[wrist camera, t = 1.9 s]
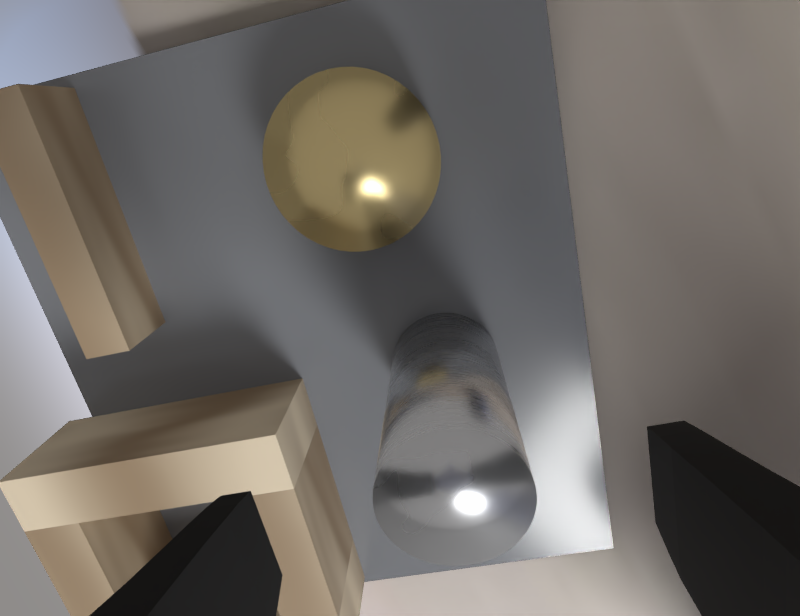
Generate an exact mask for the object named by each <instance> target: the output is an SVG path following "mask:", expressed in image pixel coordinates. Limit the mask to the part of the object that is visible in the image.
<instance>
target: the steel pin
mask: <svg viewBox="0 0 800 616" xmlns="http://www.w3.org/2000/svg"><path fill="white" fill-rule="evenodd" d="M372 497H373V508H374V513H375V516H376V519H377V521H378V523H379V525H380V527H381V529H382V530H383V532H384V533H385V534H386V536H387V537H388V538H389V539H390V540H391V541H392V542H393V543H394V544H395V545H396V546H398V547H399V548H400V549H401V550H403V551H404V552H406V553H408V554H409V555H411V556H413V557H415V558H418V559H420V560H423V561H426V562H429V563H433V564H438V565H446V566H465V565H472V564H478V563H481V562H485V561H488V560H490V559H493V558H495V557H498V556H499V555H501V554H503V553H505V552H506V551H508V550H509V549H510V548H512V547H513V546H514V545H515V544H516V543H517V542H518V541H519V540H521V538H522V537H523V536H524V535H525V533H526V532H527V530H528V529H529V527H530V525H531V523H532V521H533V518H534V515H535V511H536V506H537V493H536V487H535V483H534V479H533V476H532V472H531V469H530V465H529V461H528V458H527V454H526V451H525V447H524V444H523V440H522V437H521V433H520V430H519V426H518V423H517V419H516V416H515V412H514V408H513V405H512V401H511V398H510V394H509V391H508V387H507V384H506V380H505V377H504V373H503V370H502V366H501V362H500V359H499V355H498V352H497V348H496V345H495V343H494V340H493V339H492V337H491V335H490V334H489V333H488V332H487V330H486V329H485V328H484V327H483V326H482V325H480V324H479V323H478V322H476V321H475V320H473V319H471V318H469V317H466V316H464V315H460V314H456V313H436V314H432V315H428V316H425V317H423V318H421V319H419V320H417V321H415V322H414V323H412V324H411V325H410V326H409V327H408V328H407V329H406V330H405V331H404V332H403V333H402V335H401V336H400V338H399V339H398V341H397V344H396V346H395V350H394V354H393V361H392V367H391V374H390V380H389V387H388V394H387V400H386V407H385V414H384V420H383V427H382V434H381V440H380V447H379V454H378V460H377V467H376V474H375V480H374V487H373V496H372Z"/></svg>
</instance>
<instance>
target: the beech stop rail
mask: <svg viewBox="0 0 800 616" xmlns="http://www.w3.org/2000/svg"><path fill="white" fill-rule="evenodd" d="M0 168H1V170H2V172H3V174H4V177H5V179H6V181H7V183H8V185H9V188H10V190H11V192H12V194H13V197H14V199H15V201H16V203H17V205H18V208H19V210H20V212H21V214H22V217H23V219H24V221H25V223H26V226H27V228H28V230H29V232H30V234H31V237H32V239H33V241H34V243H35V246H36V248H37V250H38V252H39V255H40V257H41V259H42V261H43V263H44V266H45V268H46V270H47V272H48V275H49V277H50V279H51V281H52V283H53V286H54V288H55V290H56V292H57V295H58V297H59V299H60V301H61V304H62V306H63V308H64V310H65V312H66V315H67V317H68V319H69V321H70V324H71V326H72V328H73V330H74V333H75V335H76V337H77V339H78V341H79V344H80V346H81V348H82V350H83V353H84V355H85V357H86V359H90V358H95V357H100V356H105V355H110V354H115V353H120V352H125V351H130V350H131V349H132V348H134V347H135V346H136V345H137V344H139V343H140V342H141V341H142V340H144V339H145V338H146V337H147V336H149V335H150V334H151V333H152V332H154V331H155V330H156V329H158V328H159V327H160V326H161V325H163V324H164V323H165V320H164V317H163V315H162V312H161V309H160V307H159V304H158V302H157V299H156V297H155V294H154V291H153V289H152V286H151V284H150V281H149V279H148V276H147V273H146V271H145V268H144V266H143V263H142V261H141V258H140V255H139V253H138V250H137V248H136V245H135V243H134V240H133V237H132V235H131V232H130V230H129V227H128V225H127V222H126V219H125V217H124V214H123V212H122V209H121V207H120V204H119V201H118V199H117V196H116V194H115V191H114V188H113V186H112V183H111V181H110V178H109V176H108V173H107V170H106V168H105V165H104V163H103V160H102V158H101V155H100V152H99V150H98V147H97V145H96V142H95V140H94V137H93V134H92V132H91V129H90V127H89V124H88V122H87V119H86V116H85V114H84V111H83V109H82V106H81V104H80V101H79V98H78V96H77V93H76V91H75V88H69V87H55V86H40V85H25V84H16V85H12V86H8V87H5V88H1V89H0Z"/></svg>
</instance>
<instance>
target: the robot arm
mask: <svg viewBox="0 0 800 616" xmlns="http://www.w3.org/2000/svg"><path fill="white" fill-rule="evenodd" d="M647 431H648V442H649V454H650V465H651V476H652V487H653V499H654V510H655V521H656V524H657V527H658V529H659V531H660V534H661V536H662V538H663V541H664V543H665V545H666V547H667V550H668V552H669V554H670V556H671V559H672V561H673V563H674V565H675V567H676V570H677V572H678V574H679V576H680V578H681V580H682V582H683V584H684V585H685V587H686V589H687V591H688V592H689V594H690V596H691V598H692V599H693V601H694V603H695V604H696V606H697V608H698V610H699V611H700V613H701V615H702V616H800V487H799V486H797V485H796V484H794V483H792V482H790V481H788V480H787V479H785V478H783V477H781V476H779V475H778V474H776V473H774V472H772V471H770V470H769V469H767V468H765V467H763V466H762V465H760V464H758V463H756V462H755V461H753V460H751V459H749V458H748V457H746V456H744V455H743V454H741V453H739V452H737V451H736V450H734V449H732V448H731V447H729V446H727V445H725V444H724V443H722V442H720V441H719V440H717V439H715V438H714V437H712V436H710V435H709V434H707V433H705V432H703V431H702V430H700V429H698V428H696V427H695V426H693V425H691V424H689V423H687V422H686V421H679V422H673V423H667V424H661V425H655V426H649V427H647ZM282 576H283V575H282V572H281V570H280V567H279V564H278V562H277V559H276V557H275V554H274V551H273V549H272V546H271V543H270V541H269V538H268V535H267V533H266V530H265V527H264V525H263V522H262V519H261V517H260V514H259V511H258V509H257V506H256V503H255V501H254V498H253V496H252V493H251V491H247V492H241V493H235V494H228V495H222V496H220V497H218V498H217V499H216V500H215V501H213V502H212V503H211V504H210V505H209V506H207V507H206V508H205V509H204V510H203V511H202V512H201V513H200V514H199V515H197V516H196V517H195V518H194V519H193V520H192V521H191V522H190V523H189V524H188V525H187V526H186V527H185V528H184V529H183V530H181V531H180V532H179V533H178V534H177V535H176V536H175V537H174V538H173V539H172V540H171V541H170V542H169V543H168V544H167V545H166V546H165V547H164V548H163V549H161V550H160V551H159V552H158V553H157V554H156V555H155V556H154V557H153V558H152V559H151V560H150V561H149V562H148V563H147V564H146V565H145V566H143V567H142V568H141V569H140V570H139V571H138V572H137V573H136V574H135V575H134V576H133V577H132V578H131V579H130V580H129V581H128V582H126V583H125V584H124V585H123V586H122V587H121V588H120V589H119V590H117V591H116V592H115V593H114V594H113V595H112V596H111V597H110V598H108V599H107V600H106V601H105V602H104V603H103V604H102V605H101V606H99V607H98V608H97V609H96V610H95V611H94V612H93V613H92V614H90V615H89V616H276V613H277V608H278V601H279V595H280V589H281V582H282Z"/></svg>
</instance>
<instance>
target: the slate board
mask: <svg viewBox="0 0 800 616" xmlns="http://www.w3.org/2000/svg"><path fill="white" fill-rule="evenodd" d="M337 67H360V68H367V69H370V70H374V71H378V72H380V73H382V74H385V75H387V76H389V77H391V78H393V79H394V80H396V81H398V82H399V83H401V84H402V85H403V86H404V87H406V88H407V89H408V90H409V91H410V92H411V93H412V94H413V95H414V96H415V97H416V98H417V99H418V100H419V101H420V103H421V104H422V105H423V107H424V108H425V109H426V111H427V113H428V114H429V116H430V118H431V120H432V122H433V125H434V127H435V130H436V133H437V137H438V141H439V145H440V153H441V172H440V179H439V184H438V188H437V191H436V194H435V197H434V199H433V201H432V204H431V205H430V207H429V209H428V211H427V212H426V214H425V215H424V217H423V218H422V219H421V221H420V222H419V223H418V224H417V225H416V226H415V227H414V228H413V229H412V230H411V231H410V232H408V233H407V234H406V235H405V236H403V237H402V238H400V239H398V240H397V241H395V242H393V243H391V244H389V245H386V246H384V247H381V248H378V249H374V250H369V251H362V252H349V251H340V250H336V249H332V248H328V247H325V246H323V245H320V244H318V243H316V242H314V241H312V240H310V239H308V238H307V237H305V236H304V235H303V234H301V233H300V232H298V231H297V230H296V229H295V228H294V227H293V226H292V225H291V224H290V223H289V222H288V221H287V220H286V219H285V218H284V216H283V215H282V214H281V212H280V211H279V209H278V208H277V206H276V205H275V203H274V201H273V199H272V197H271V195H270V192H269V189H268V187H267V184H266V180H265V175H264V170H263V143H264V136H265V133H266V129H267V126H268V123H269V121H270V118H271V116H272V114H273V112H274V110H275V109H276V107H277V105H278V104H279V102H280V101H281V100H282V99H283V97H284V96H285V95H286V94H287V93H288V92H289V91H290V90H291V89H292V88H293V87H294V86H295V85H297V84H298V83H299V82H301V81H302V80H304V79H305V78H307V77H309V76H311V75H313V74H315V73H318V72H321V71H324V70H327V69H331V68H337ZM35 85H40V86H55V87H69V88H75V91H76V93H77V96H78V98H79V101H80V104H81V106H82V109H83V111H84V114H85V116H86V119H87V122H88V124H89V127H90V129H91V132H92V134H93V137H94V140H95V142H96V145H97V147H98V150H99V152H100V155H101V158H102V160H103V163H104V165H105V168H106V170H107V173H108V176H109V178H110V181H111V183H112V186H113V188H114V191H115V194H116V196H117V199H118V201H119V204H120V207H121V209H122V212H123V214H124V217H125V219H126V222H127V225H128V227H129V230H130V232H131V235H132V237H133V240H134V243H135V245H136V248H137V250H138V253H139V255H140V258H141V261H142V263H143V266H144V268H145V271H146V273H147V276H148V279H149V281H150V284H151V286H152V289H153V291H154V294H155V297H156V299H157V302H158V304H159V307H160V309H161V312H162V315H163V317H164V320H165V323H164V324H163V325H161V326H160V327H159V328H158V329H156V330H155V331H154V332H152V333H151V334H150V335H149V336H147V337H146V338H145V339H144V340H142V341H141V342H140V343H139V344H137V345H136V346H135V347H134V348H132V349H131V350H130V351H125V352H120V353H115V354H110V355H105V356H100V357H95V358H90V359H86V357H85V355H84V353H83V350H82V348H81V346H80V344H79V341H78V339H77V337H76V335H75V333H74V330H73V328H72V326H71V324H70V321H69V319H68V317H67V315H66V312H65V310H64V308H63V306H62V304H61V301H60V299H59V297H58V295H57V292H56V290H55V288H54V286H53V283H52V281H51V279H50V277H49V275H48V272H47V270H46V268H45V266H44V263H43V261H42V259H41V257H40V255H39V252H38V250H37V248H36V246H35V243H34V241H33V239H32V237H31V234H30V232H29V230H28V228H27V226H26V223H25V221H24V219H23V217H22V214H21V212H20V210H19V208H18V205H17V203H16V201H15V199H14V197H13V194H12V192H11V190H10V188H9V185H8V183H7V181H6V179H5V177H4V174H3V172H2V170H1V168H0V217H1V220H2V222H3V224H4V226H5V228H6V231H7V233H8V235H9V237H10V239H11V241H12V244H13V246H14V248H15V250H16V252H17V254H18V257H19V259H20V261H21V263H22V265H23V267H24V269H25V272H26V274H27V276H28V278H29V280H30V282H31V285H32V287H33V289H34V291H35V293H36V296H37V298H38V300H39V302H40V304H41V306H42V309H43V311H44V313H45V315H46V317H47V319H48V321H49V324H50V326H51V328H52V330H53V332H54V335H55V337H56V339H57V341H58V343H59V345H60V348H61V350H62V352H63V354H64V356H65V358H66V360H67V362H68V364H69V367H70V369H71V371H72V374H73V376H74V378H75V380H76V382H77V384H78V386H79V388H80V391H81V393H82V395H83V397H84V399H85V402H86V404H87V406H88V408H89V410H90V412H91V415H92V417H95V416H101V415H106V414H112V413H117V412H122V411H128V410H133V409H139V408H144V407H150V406H155V405H160V404H166V403H171V402H177V401H182V400H188V399H193V398H199V397H204V396H209V395H215V394H220V393H226V392H231V391H237V390H242V389H247V388H253V387H258V386H264V385H269V384H275V383H280V382H285V381H291V380H296V379H302V378H303V381H304V385H305V388H306V391H307V394H308V397H309V401H310V404H311V407H312V410H313V413H314V417H315V420H316V423H317V426H318V429H319V433H320V436H321V439H322V442H323V445H324V449H325V452H326V455H327V458H328V461H329V464H330V468H331V471H332V474H333V477H334V480H335V484H336V487H337V490H338V493H339V496H340V500H341V503H342V506H343V509H344V512H345V516H346V519H347V522H348V525H349V528H350V532H351V535H352V538H353V541H354V544H355V548H356V551H357V554H358V557H359V560H360V564H361V567H362V570H363V573H364V576H365V579H364V582H367V581H374V580H382V579H389V578H396V577H404V576H411V575H419V574H426V573H433V572H441V571H448V570H456V569H463V568H470V567H478V566H485V565H493V564H500V563H508V562H515V561H522V560H530V559H537V558H545V557H552V556H559V555H567V554H574V553H582V552H589V551H596V550H604V549H611V548H613V540H612V532H611V524H610V516H609V508H608V500H607V492H606V484H605V476H604V467H603V459H602V451H601V443H600V435H599V427H598V419H597V411H596V403H595V395H594V386H593V378H592V370H591V362H590V354H589V346H588V338H587V330H586V322H585V314H584V306H583V297H582V289H581V281H580V273H579V265H578V257H577V249H576V241H575V233H574V225H573V216H572V208H571V200H570V192H569V184H568V176H567V168H566V160H565V152H564V144H563V135H562V127H561V119H560V111H559V103H558V95H557V87H556V79H555V71H554V63H553V55H552V46H551V38H550V30H549V22H548V14H547V6H546V0H348V1H344V2H340V3H336V4H333V5H329V6H325V7H321V8H318V9H314V10H310V11H307V12H303V13H299V14H295V15H292V16H288V17H284V18H281V19H277V20H273V21H269V22H266V23H262V24H258V25H254V26H251V27H247V28H243V29H240V30H236V31H232V32H228V33H225V34H221V35H217V36H213V37H210V38H206V39H202V40H199V41H195V42H191V43H187V44H184V45H180V46H176V47H173V48H169V49H165V50H161V51H158V52H154V53H150V54H146V55H143V56H139V57H136V58H132V59H128V60H124V61H121V62H117V63H113V64H109V65H106V66H102V67H98V68H94V69H91V70H87V71H83V72H79V73H76V74H72V75H68V76H65V77H61V78H57V79H53V80H50V81H46V82H42V83H39V84H35ZM436 313H456V314H460V315H464V316H466V317H469V318H471V319H473V320H475V321H476V322H478V323H479V324H480V325H482V326H483V327H484V328H485V329H486V330H487V332H488V333H489V334H490V335H491V337H492V339H493V340H494V343H495V345H496V348H497V352H498V355H499V359H500V362H501V366H502V370H503V373H504V377H505V380H506V384H507V387H508V391H509V394H510V398H511V401H512V405H513V408H514V412H515V416H516V419H517V423H518V426H519V430H520V433H521V437H522V440H523V444H524V447H525V451H526V454H527V458H528V461H529V465H530V469H531V472H532V476H533V479H534V483H535V487H536V493H537V506H536V511H535V515H534V518H533V521H532V523H531V525H530V527H529V529H528V530H527V532H526V533H525V535H524V536H523V537H522V538H521V540H519V541H518V542H517V543H516V544H515V545H514V546H513V547H512V548H510V549H509V550H508V551H506V552H505V553H503V554H501V555H499V556H498V557H495V558H493V559H490V560H488V561H485V562H481V563H478V564H472V565H465V566H446V565H438V564H433V563H429V562H426V561H423V560H420V559H418V558H415V557H413V556H411V555H409V554H408V553H406V552H404V551H403V550H401V549H400V548H399V547H398V546H396V545H395V544H394V543H393V542H392V541H391V540H390V539H389V538H388V537H387V536H386V534H385V533H384V532H383V530H382V529H381V527H380V525H379V523H378V521H377V519H376V516H375V513H374V508H373V497H372V496H373V487H374V480H375V474H376V467H377V460H378V454H379V447H380V440H381V434H382V427H383V420H384V414H385V407H386V400H387V394H388V387H389V380H390V374H391V367H392V361H393V354H394V350H395V346H396V344H397V341H398V339H399V338H400V336H401V335H402V333H403V332H404V331H405V330H406V329H407V328H408V327H409V326H410V325H411V324H412V323H414V322H415V321H417V320H419V319H421V318H423V317H425V316H428V315H432V314H436ZM211 503H212V502H208V503H202V504H196V505H189V506H183V507H177V508H170V509H164V510H160V512H161V514H162V517H163V519H164V521H165V523H166V526H167V528H168V530H169V532H170V535H171V537H172V539H173V538H174V537H175V536H176V535H177V534H178V533H179V532H180V531H181V530H183V529H184V528H185V527H186V526H187V525H188V524H189V523H190V522H191V521H192V520H193V519H194V518H195V517H196V516H197V515H199V514H200V513H201V512H202V511H203V510H204V509H205V508H206V507H207V506H209V505H210V504H211Z"/></svg>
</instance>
